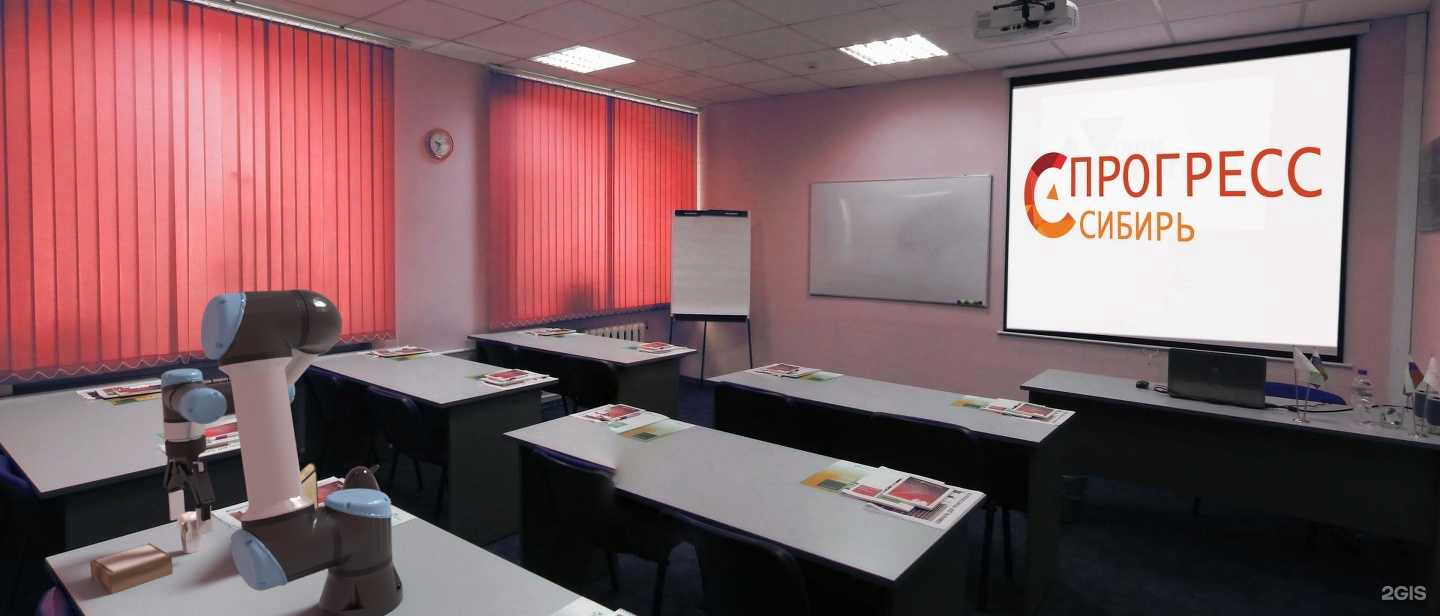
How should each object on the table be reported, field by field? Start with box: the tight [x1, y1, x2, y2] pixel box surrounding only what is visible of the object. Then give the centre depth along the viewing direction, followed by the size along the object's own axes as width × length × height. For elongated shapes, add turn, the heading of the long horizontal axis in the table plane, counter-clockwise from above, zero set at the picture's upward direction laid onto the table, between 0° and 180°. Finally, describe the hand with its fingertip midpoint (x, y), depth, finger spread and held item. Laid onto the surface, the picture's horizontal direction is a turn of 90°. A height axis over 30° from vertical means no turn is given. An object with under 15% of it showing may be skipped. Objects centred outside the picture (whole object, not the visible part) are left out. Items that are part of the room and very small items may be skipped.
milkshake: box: [176, 510, 202, 555], centre depth 164 cm, size 4×5×10 cm
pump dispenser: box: [340, 464, 381, 492], centre depth 179 cm, size 10×10×15 cm
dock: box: [89, 542, 174, 595], centre depth 152 cm, size 11×10×4 cm
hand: (191, 525), depth 164 cm, fingers open, 13 cm apart
